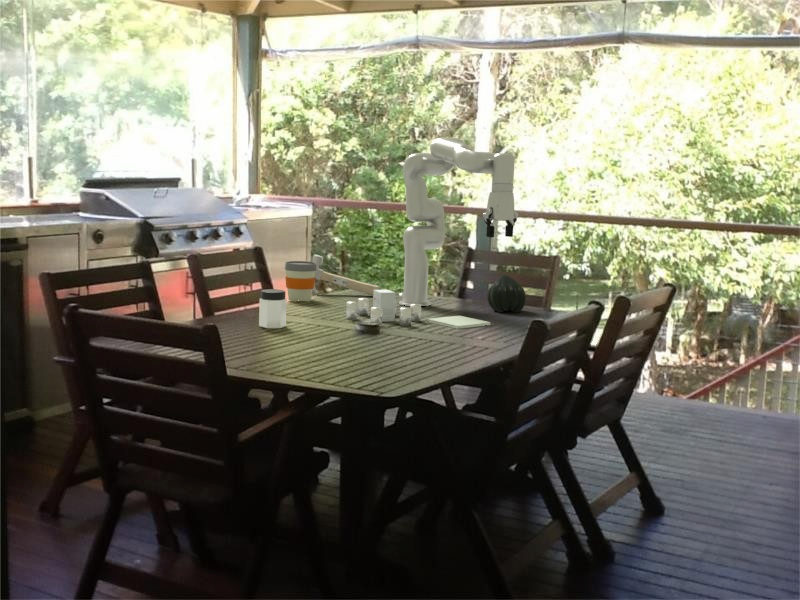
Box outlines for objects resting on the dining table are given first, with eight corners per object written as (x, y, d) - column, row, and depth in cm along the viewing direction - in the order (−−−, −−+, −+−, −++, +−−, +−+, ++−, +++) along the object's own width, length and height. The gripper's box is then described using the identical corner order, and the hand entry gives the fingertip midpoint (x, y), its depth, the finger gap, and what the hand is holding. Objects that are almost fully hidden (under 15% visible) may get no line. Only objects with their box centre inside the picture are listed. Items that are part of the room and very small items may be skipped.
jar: (284, 324, 307) (285, 289, 306) (287, 328, 300) (288, 292, 298) (257, 324, 305) (258, 289, 303) (260, 328, 297) (260, 292, 296)
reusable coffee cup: (295, 303, 354) (296, 265, 352) (278, 298, 363) (278, 261, 361) (321, 301, 362) (322, 263, 360) (304, 296, 371) (305, 260, 369)
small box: (394, 321, 321) (395, 292, 320) (380, 322, 319) (381, 292, 318) (386, 317, 329) (387, 289, 327) (372, 318, 327) (373, 289, 325)
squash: (525, 302, 344) (526, 270, 353) (485, 301, 347) (487, 269, 355) (525, 322, 356) (526, 290, 364) (487, 321, 358) (489, 289, 367)
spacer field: (335, 316, 328) (335, 299, 327) (382, 311, 342) (383, 296, 341) (384, 328, 306) (384, 311, 306) (432, 323, 321) (433, 306, 320)
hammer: (382, 273, 382) (314, 253, 383) (381, 274, 377) (312, 254, 379) (373, 308, 384) (305, 289, 386) (371, 310, 380) (303, 290, 381)
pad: (427, 321, 324) (427, 318, 324) (459, 318, 334) (459, 315, 334) (457, 328, 312) (458, 326, 312) (490, 325, 322) (490, 322, 322)
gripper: (511, 188, 330) (508, 235, 332) (477, 187, 319) (475, 236, 321) (526, 189, 324) (523, 237, 327) (493, 188, 313) (490, 238, 315)
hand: (499, 236), depth 324 cm, fingers open, 9 cm apart
